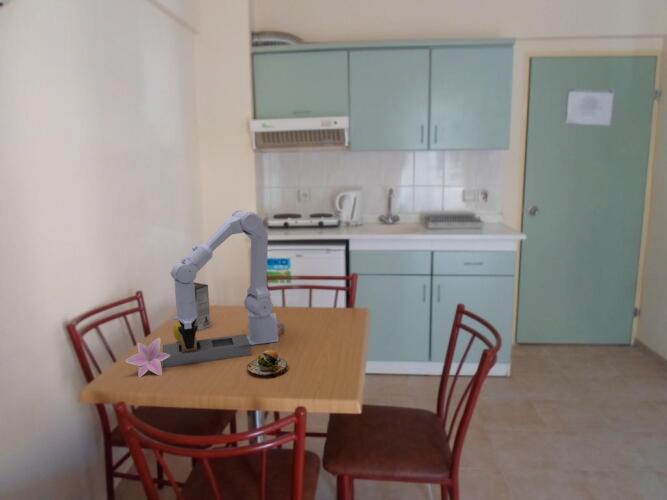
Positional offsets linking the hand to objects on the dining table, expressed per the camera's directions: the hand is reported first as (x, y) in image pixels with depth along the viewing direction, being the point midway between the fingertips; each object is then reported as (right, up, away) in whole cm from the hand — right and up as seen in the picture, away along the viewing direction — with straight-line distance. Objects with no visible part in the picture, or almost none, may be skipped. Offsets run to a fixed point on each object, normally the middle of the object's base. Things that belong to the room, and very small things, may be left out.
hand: (189, 344), depth 152 cm
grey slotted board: (+5, -4, +2) cm, 7 cm away
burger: (+26, -6, -10) cm, 28 cm away
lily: (-9, -7, -9) cm, 14 cm away
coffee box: (-6, 0, +30) cm, 30 cm away
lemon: (-6, -2, +13) cm, 15 cm away
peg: (0, -4, +1) cm, 5 cm away
